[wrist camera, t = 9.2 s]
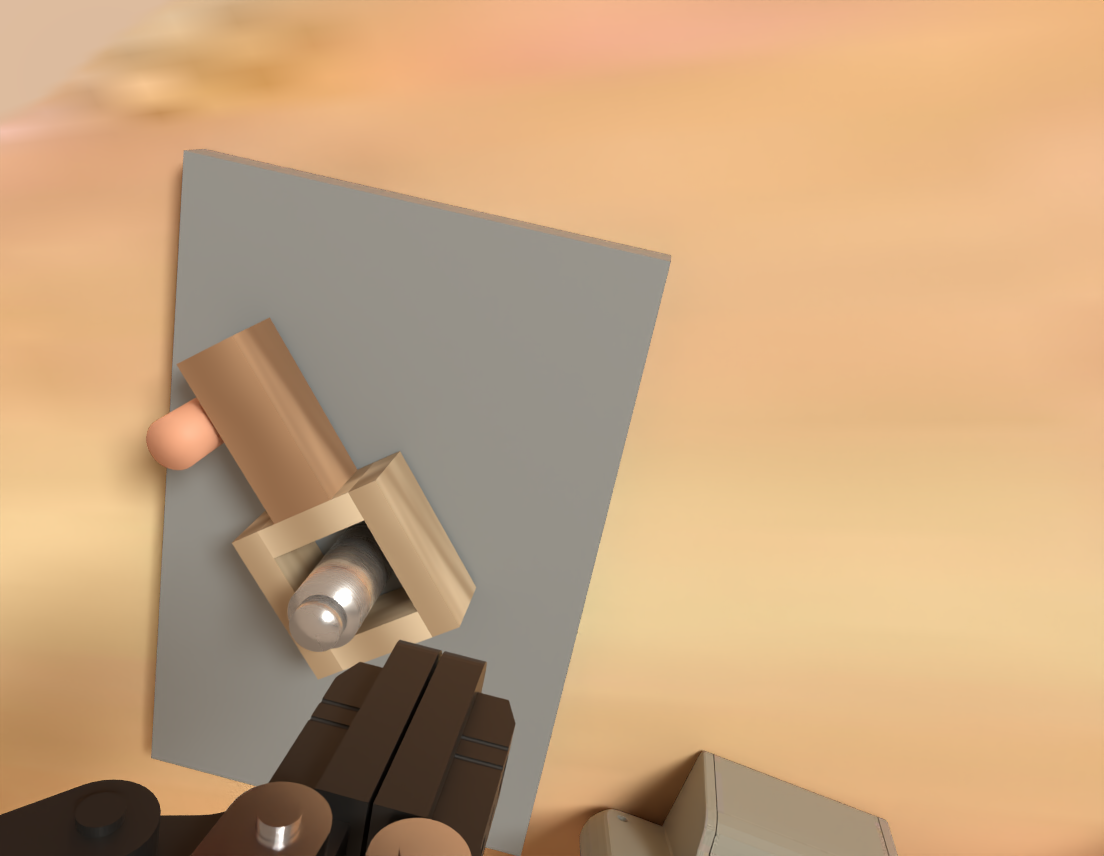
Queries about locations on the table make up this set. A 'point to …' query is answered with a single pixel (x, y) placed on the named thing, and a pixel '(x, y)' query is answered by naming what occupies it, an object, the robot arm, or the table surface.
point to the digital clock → (740, 821)
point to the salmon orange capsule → (182, 436)
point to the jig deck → (400, 439)
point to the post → (339, 591)
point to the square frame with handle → (323, 498)
